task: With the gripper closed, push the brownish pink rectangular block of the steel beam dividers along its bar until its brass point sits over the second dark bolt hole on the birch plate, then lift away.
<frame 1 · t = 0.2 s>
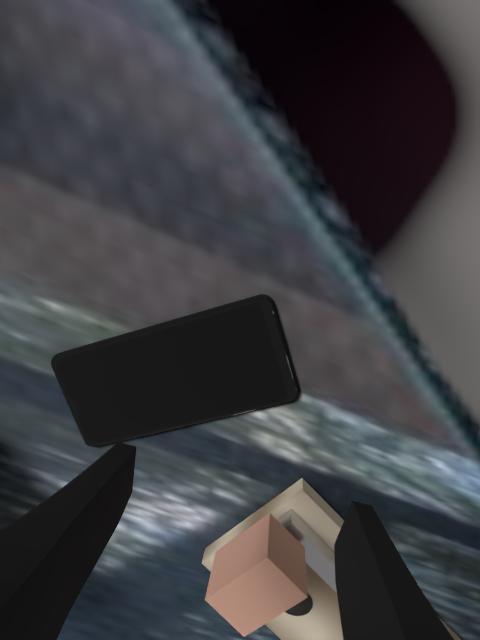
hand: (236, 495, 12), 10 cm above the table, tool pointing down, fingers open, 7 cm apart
brownish pink rectangular block: (256, 563, 20), point 4 cm above the table, slide at 5.5 cm
smartphone: (175, 372, 23), on the table
hole plate: (350, 612, 25), on the table
divider bar: (379, 595, 24), resting on hole plate
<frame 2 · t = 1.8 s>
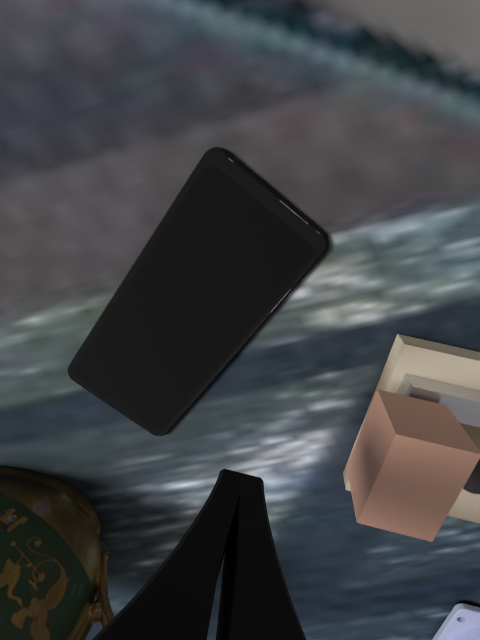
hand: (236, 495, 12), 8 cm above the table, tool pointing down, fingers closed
brownish pink rectangular block: (398, 454, 15), point 4 cm above the table, slide at 5.5 cm
smartphone: (187, 310, 19), on the table
cup: (21, 508, 26), on the table
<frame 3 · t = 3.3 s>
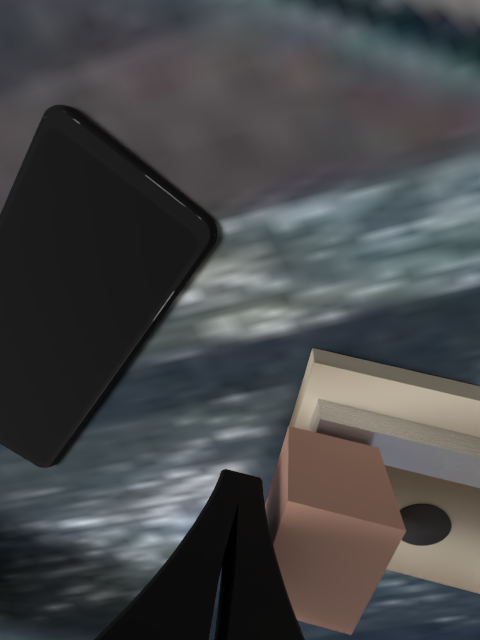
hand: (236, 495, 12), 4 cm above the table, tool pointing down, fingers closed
brownish pink rectangular block: (315, 511, 12), point 4 cm above the table, slide at 5.0 cm, touching gripper
smartphone: (62, 317, 15), on the table
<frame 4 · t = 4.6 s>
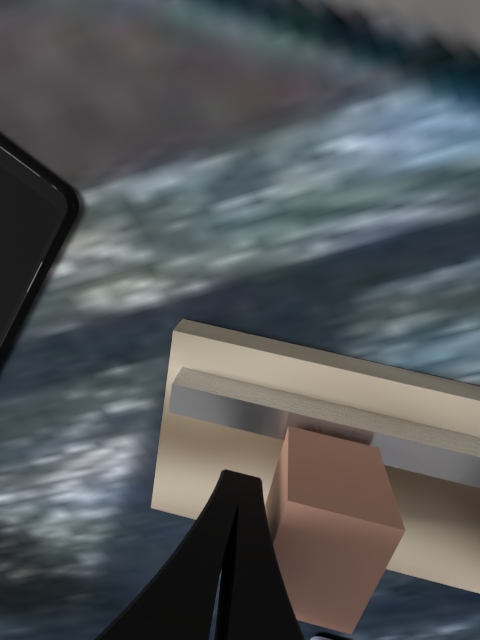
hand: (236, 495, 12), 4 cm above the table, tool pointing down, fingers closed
brownish pink rectangular block: (315, 511, 12), point 4 cm above the table, slide at -0.2 cm, touching gripper
hole plate: (397, 467, 15), on the table
divider bar: (419, 420, 14), resting on hole plate
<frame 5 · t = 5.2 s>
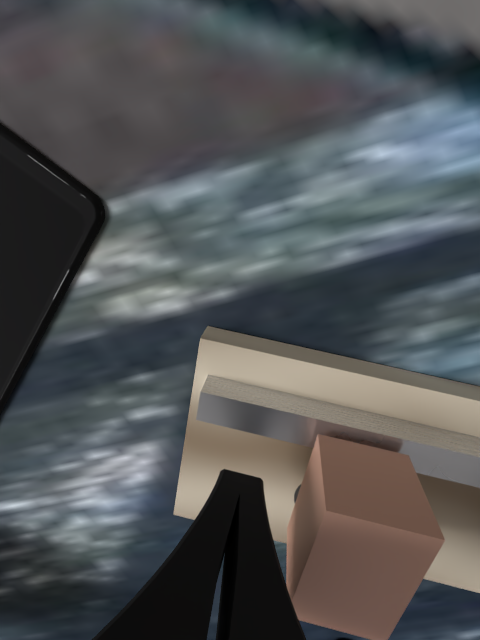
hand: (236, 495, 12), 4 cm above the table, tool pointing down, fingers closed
brownish pink rectangular block: (345, 518, 12), point 4 cm above the table, slide at -0.2 cm
hole plate: (421, 473, 15), on the table
divider bar: (444, 426, 14), resting on hole plate
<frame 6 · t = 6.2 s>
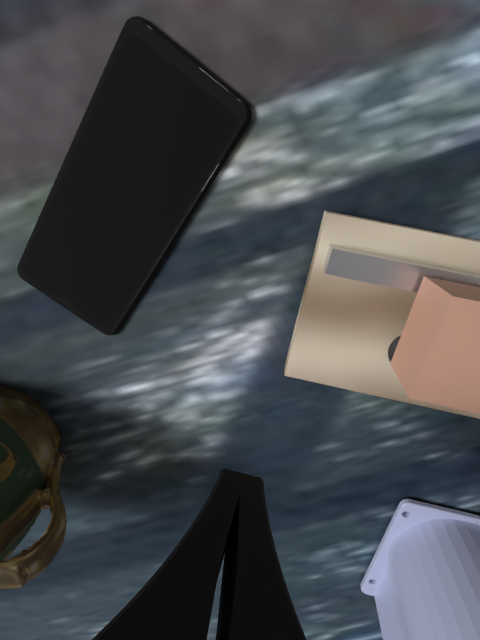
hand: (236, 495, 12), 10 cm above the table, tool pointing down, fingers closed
brownish pink rectangular block: (445, 339, 16), point 4 cm above the table, slide at -0.2 cm
smartphone: (127, 201, 19), on the table
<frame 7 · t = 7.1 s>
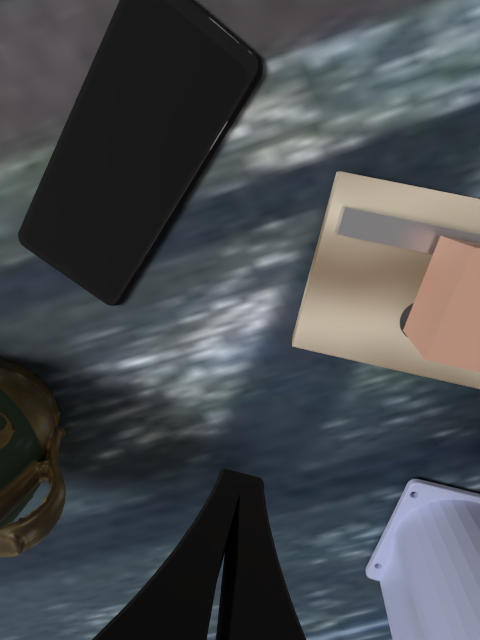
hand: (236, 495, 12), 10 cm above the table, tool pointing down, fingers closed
brownish pink rectangular block: (462, 301, 15), point 4 cm above the table, slide at -0.2 cm
smartphone: (132, 163, 19), on the table
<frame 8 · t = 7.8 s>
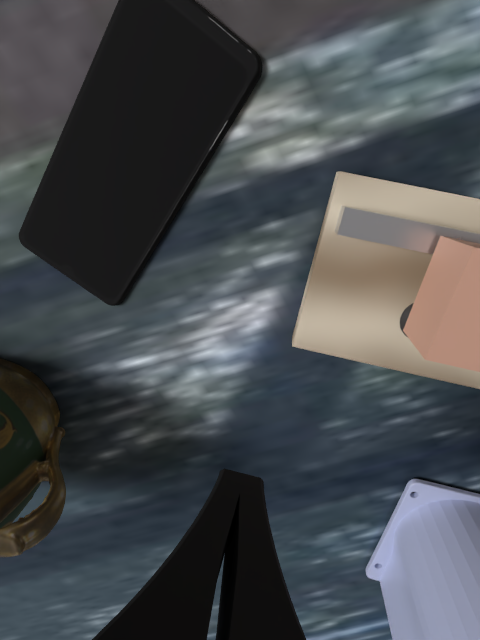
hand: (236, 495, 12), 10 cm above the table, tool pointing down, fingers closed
brownish pink rectangular block: (462, 301, 15), point 4 cm above the table, slide at -0.2 cm
smartphone: (132, 163, 19), on the table
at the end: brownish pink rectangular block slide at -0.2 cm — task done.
